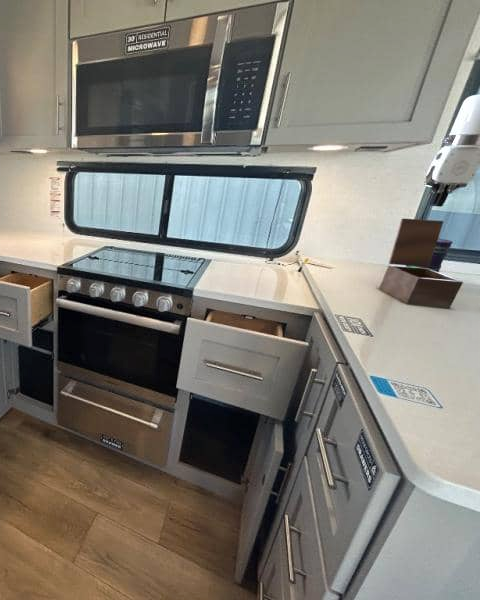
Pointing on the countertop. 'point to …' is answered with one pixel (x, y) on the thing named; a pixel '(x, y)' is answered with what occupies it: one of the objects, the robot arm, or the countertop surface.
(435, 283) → the chest
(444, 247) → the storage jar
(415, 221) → the lid
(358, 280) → the countertop surface
